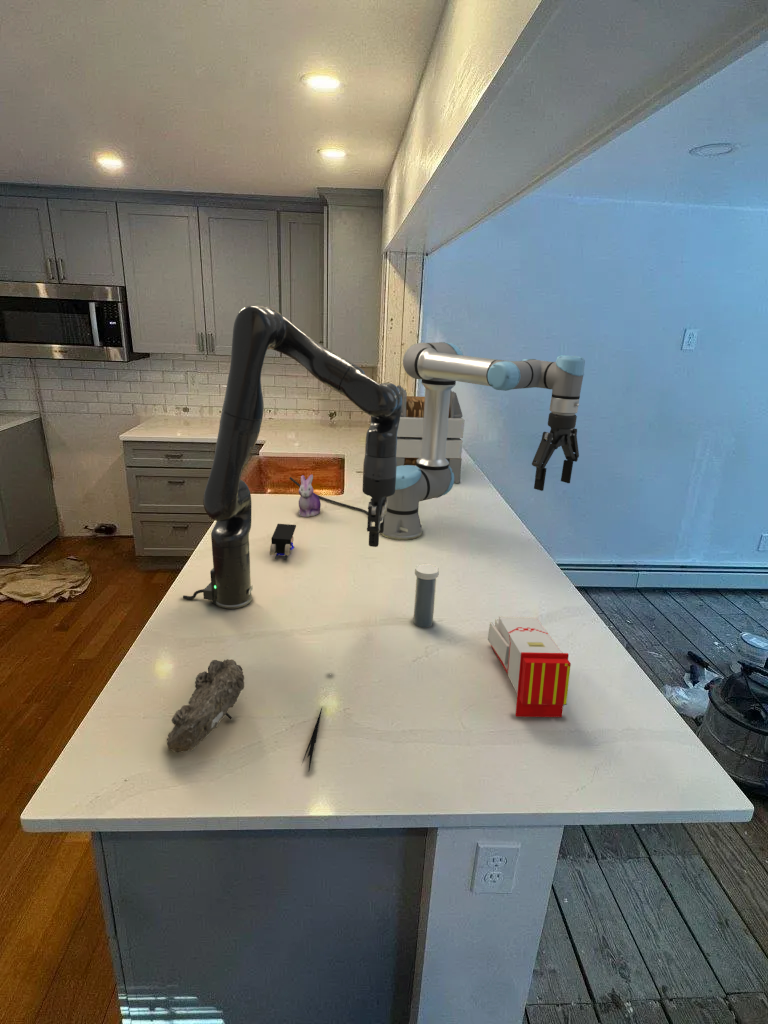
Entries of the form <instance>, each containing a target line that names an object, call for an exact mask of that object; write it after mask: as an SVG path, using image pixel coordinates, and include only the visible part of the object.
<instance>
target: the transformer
mask: <svg viewBox="0 0 768 1024" xmlns="http://www.w3.org/2000/svg"><path fill="white" fill-rule="evenodd" d="M396 386H397V387H398V389H399V390H400V392H401V395H402V410H401V416H400V422H399V426H398V431H397V451H396V461H397V466H401V465H404V466H405V465H413V466H416V461H417V459H418V458H420V457H421V449H422V434H423V419H424V404H425V396H415V395H414V396H413V395H412V396H411V395H407V394H408V393H407V390H406V389H404V388H403V387H402V385H399V384H398V385H396ZM464 429H465V419H464V418H463V411H462V408H461V405H460V402H459V398H458V395H457V392H455V391H453V390H451V392H450V404H449V416H448V428H447V441H446V453H445V458H446V459H447V461H448V462H449V466H450V467H451V469H452V473H454V484H455V483H456V484H459V483H461V472H462V461H463V460H462V453H463V442H464V441H463V440H462V439H463V438H464V431H465V430H464Z"/></svg>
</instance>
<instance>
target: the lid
mask: <svg viewBox="0 0 768 1024" xmlns="http://www.w3.org/2000/svg"><path fill="white" fill-rule="evenodd" d="M439 575H440V571H439V567H438V566H437V565H434V564H430V563H419V564H417V565H416V566H415V569H414V576H415V577H416V576H417V577H418V578H421V579H425V580H431V579H435V578H436V579H437V578H439Z"/></svg>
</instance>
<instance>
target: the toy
mask: <svg viewBox="0 0 768 1024" xmlns="http://www.w3.org/2000/svg"><path fill="white" fill-rule="evenodd" d="M488 625H489V627H488V633H487V641H488V642H489V644H490V646H491V647H490V648H491V649H492V650H493V652H494V654H495V656H496V658H497V659H498V660H499V662H500V664H501V666H502V668H503V669H504V671H505V673H506V674H507V676H508V678H509V680H510V682H511V685H512V686H513V689H514V690H515V693H516V704H515V717H516V718H517V717H518V718H519V717H520V718H521V717H522V718H563V710H564V705H567V701H568V692H569V685H570V684H569V683H570V676H571V675H570V674H571V666H572V664H571V661H570V660H569V655H570V654H569V653H568V652H563V651H562V649H561V648H560V647H559V646H558V644H557V643H556V642H555V640H554V639H553V638H552V636H551V635H550V634H549V632H548V631H547V629H546V628H545V627H544V626H543V624H542V622H541V621H540V620H539V619H538V618H537V616H498V618H496V619H494V623H493V622H489V624H488Z"/></svg>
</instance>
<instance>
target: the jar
mask: <svg viewBox="0 0 768 1024" xmlns="http://www.w3.org/2000/svg"><path fill="white" fill-rule="evenodd" d="M436 588H437V578H435V579H431V580H425V579H421V578H418V577H417V576H416V575H415V590H414V592H415V593H414V604H413V605H414V606H413V620H412V622H413V624H414V625H415V626H416V627H419V628H429V627H430V628H431V626H432V625H433V624H434V613H435V599H436V590H437V589H436Z"/></svg>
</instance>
